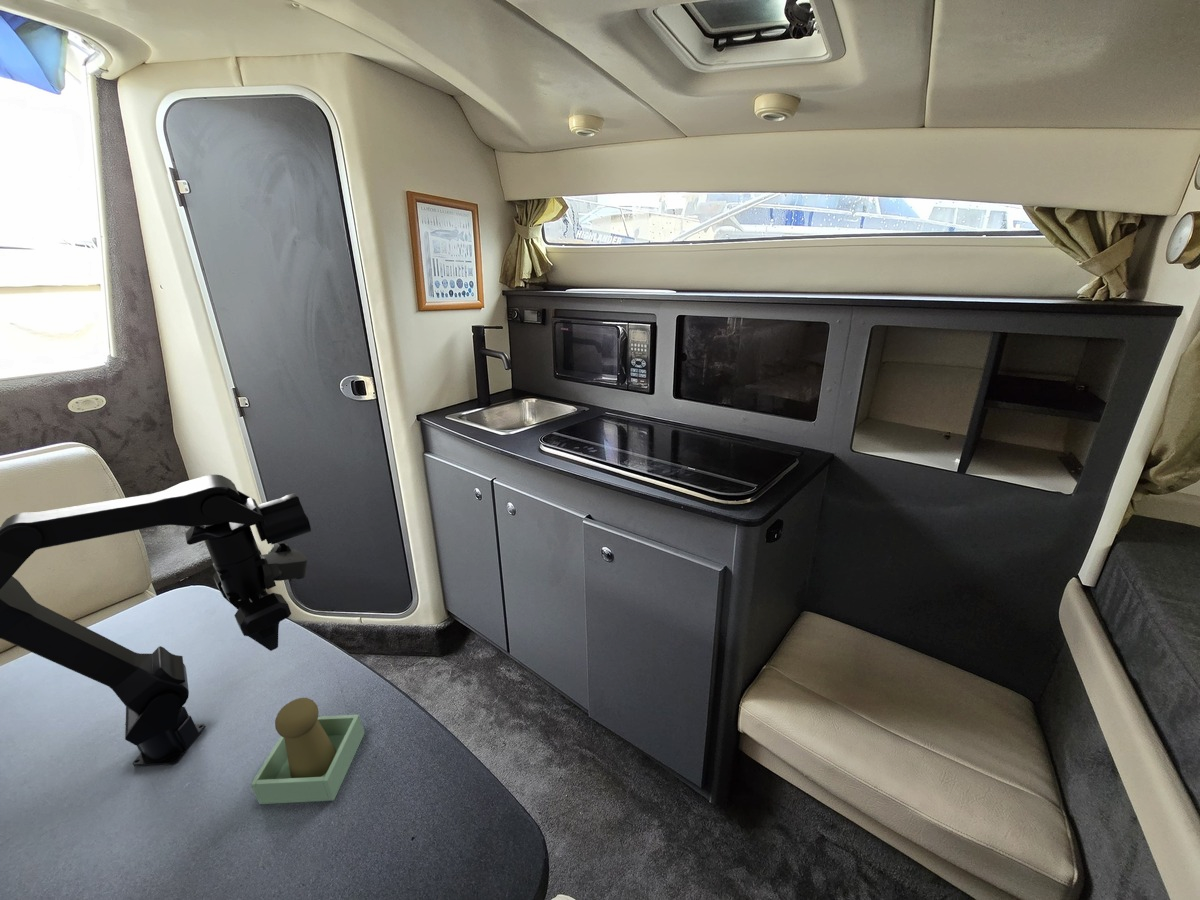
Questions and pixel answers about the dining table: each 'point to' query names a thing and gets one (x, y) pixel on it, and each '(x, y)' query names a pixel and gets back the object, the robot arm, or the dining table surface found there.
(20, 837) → the dining table surface
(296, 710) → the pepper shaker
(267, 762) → the tray
